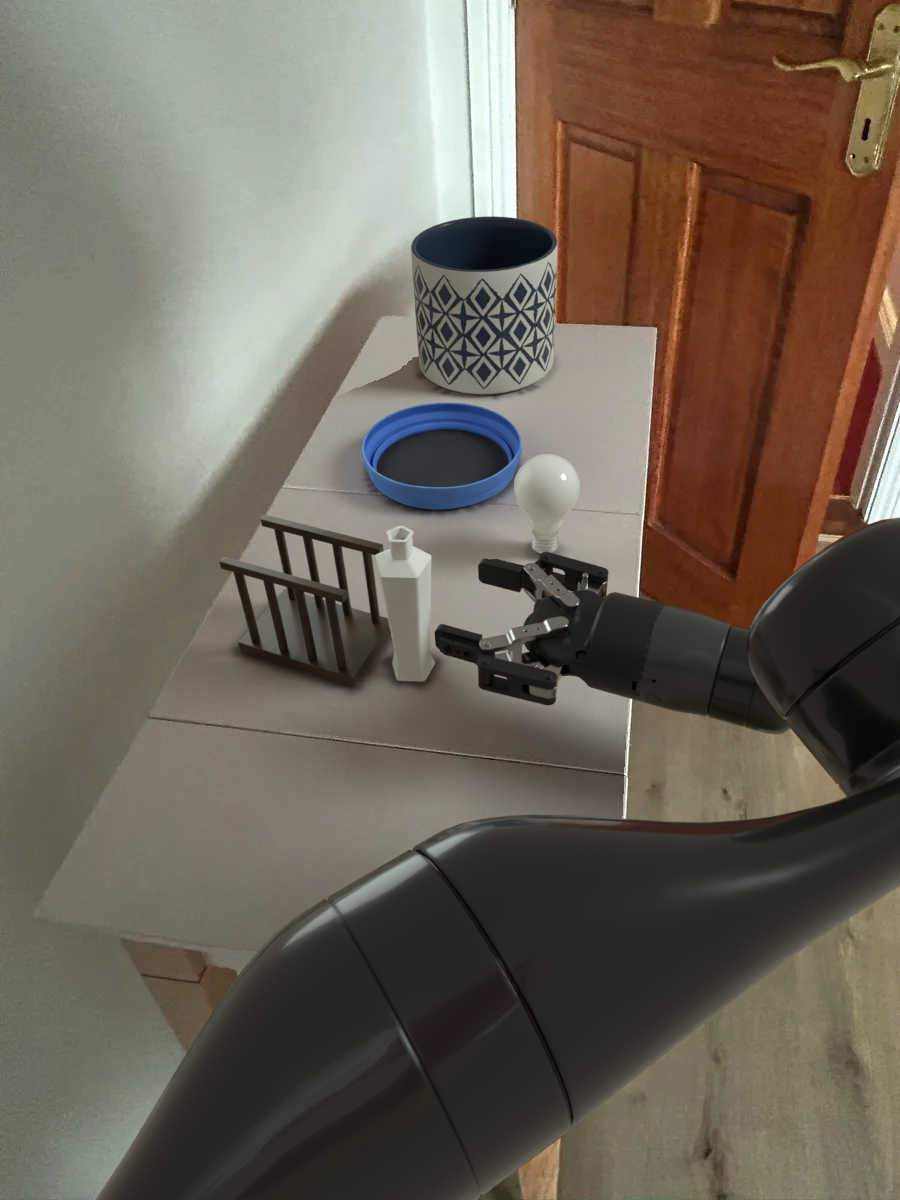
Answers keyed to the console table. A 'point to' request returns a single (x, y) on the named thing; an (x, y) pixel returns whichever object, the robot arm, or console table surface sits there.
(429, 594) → the perfume bottle
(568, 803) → the console table surface
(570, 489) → the lightbulb
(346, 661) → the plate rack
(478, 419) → the bowl
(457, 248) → the planter
